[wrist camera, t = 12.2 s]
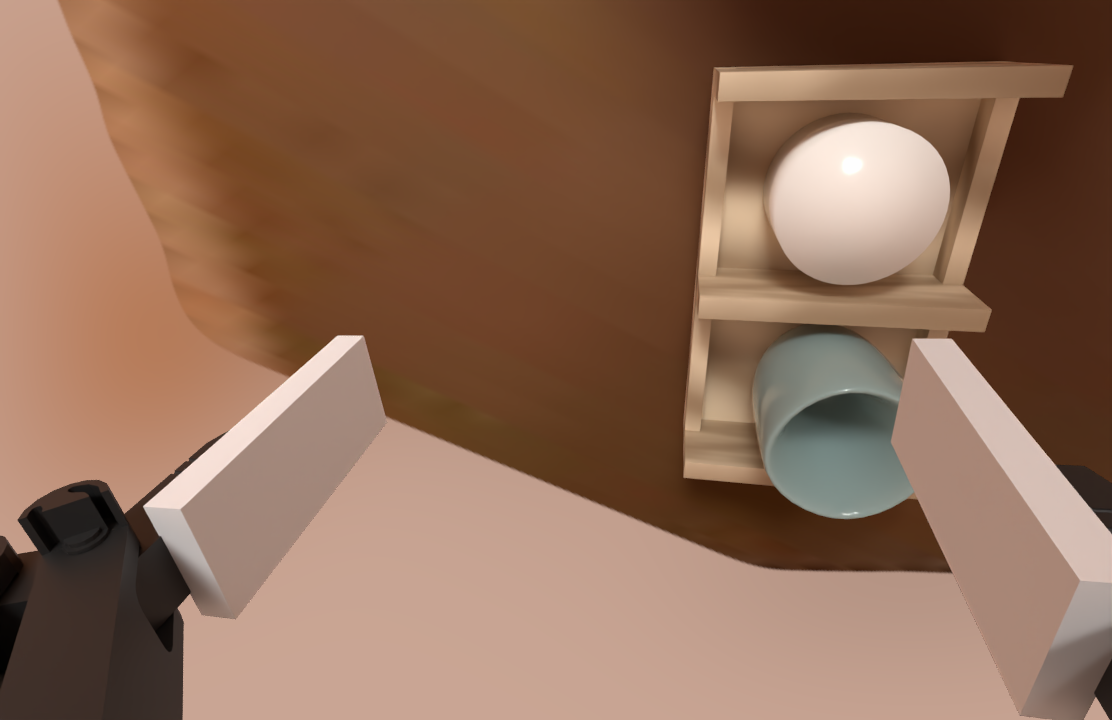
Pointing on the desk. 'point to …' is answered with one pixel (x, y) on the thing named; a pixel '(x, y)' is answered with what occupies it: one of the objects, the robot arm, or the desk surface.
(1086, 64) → the desk surface
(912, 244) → the white rounded piece
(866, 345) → the cup
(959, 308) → the rack
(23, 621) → the robot arm
